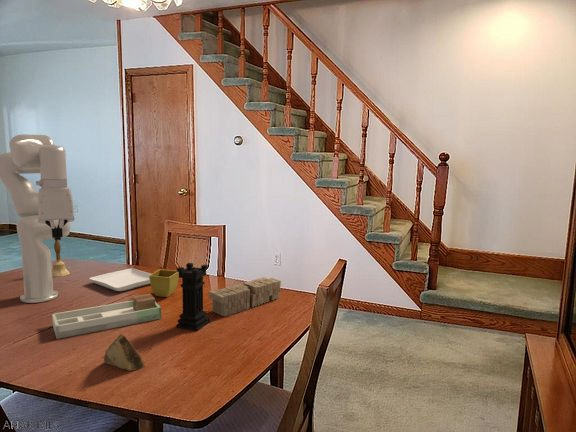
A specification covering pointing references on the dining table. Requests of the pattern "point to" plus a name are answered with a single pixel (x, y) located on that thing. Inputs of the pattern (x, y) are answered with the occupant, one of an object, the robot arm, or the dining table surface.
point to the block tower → (244, 295)
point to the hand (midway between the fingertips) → (57, 239)
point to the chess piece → (192, 298)
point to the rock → (123, 355)
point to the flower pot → (164, 282)
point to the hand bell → (59, 263)
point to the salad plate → (122, 279)
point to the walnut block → (143, 302)
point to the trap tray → (101, 318)
